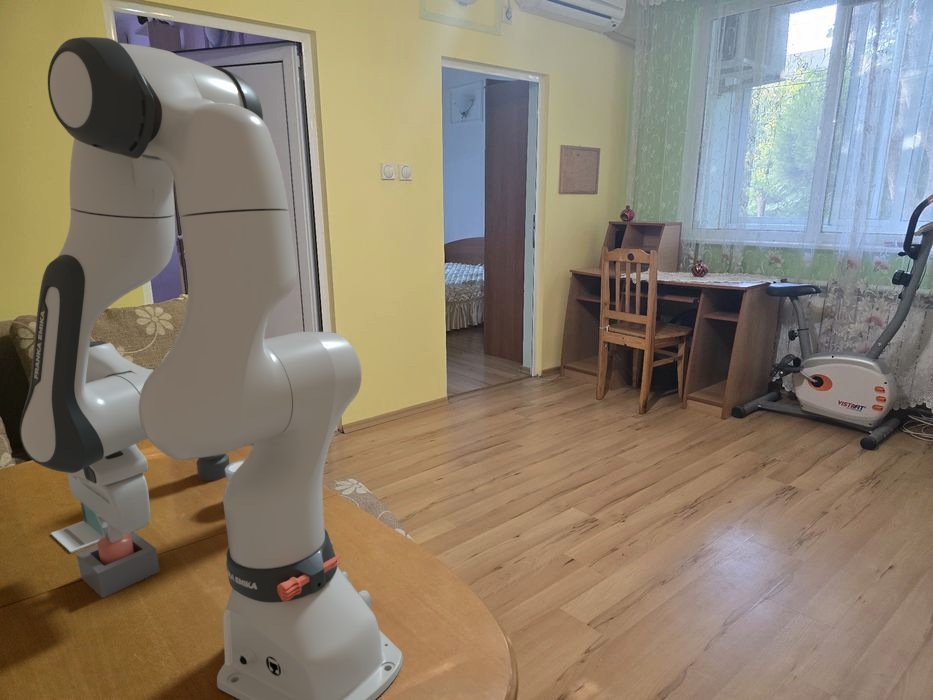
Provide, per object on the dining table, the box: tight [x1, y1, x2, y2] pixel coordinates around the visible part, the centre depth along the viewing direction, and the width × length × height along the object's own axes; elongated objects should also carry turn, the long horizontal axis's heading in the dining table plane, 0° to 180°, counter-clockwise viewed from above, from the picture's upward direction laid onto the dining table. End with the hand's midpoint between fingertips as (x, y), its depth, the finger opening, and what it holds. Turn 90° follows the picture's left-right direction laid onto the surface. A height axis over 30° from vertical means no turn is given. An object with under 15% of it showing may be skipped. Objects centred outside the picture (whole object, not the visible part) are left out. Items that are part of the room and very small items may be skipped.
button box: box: [76, 531, 160, 599], centre depth 90 cm, size 8×8×4 cm
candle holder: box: [195, 453, 230, 482], centre depth 121 cm, size 6×6×25 cm
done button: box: [96, 534, 134, 566], centre depth 90 cm, size 4×4×5 cm
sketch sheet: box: [50, 520, 103, 554], centre depth 103 cm, size 10×11×1 cm
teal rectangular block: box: [80, 502, 104, 537], centre depth 104 cm, size 9×3×4 cm, turn 51°
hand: (113, 538), depth 89 cm, fingers closed
